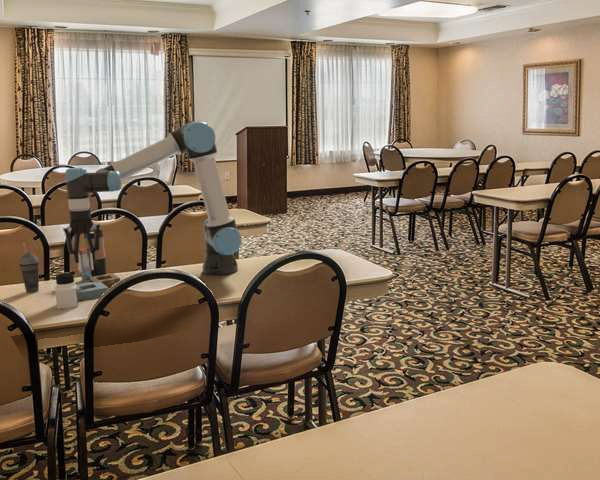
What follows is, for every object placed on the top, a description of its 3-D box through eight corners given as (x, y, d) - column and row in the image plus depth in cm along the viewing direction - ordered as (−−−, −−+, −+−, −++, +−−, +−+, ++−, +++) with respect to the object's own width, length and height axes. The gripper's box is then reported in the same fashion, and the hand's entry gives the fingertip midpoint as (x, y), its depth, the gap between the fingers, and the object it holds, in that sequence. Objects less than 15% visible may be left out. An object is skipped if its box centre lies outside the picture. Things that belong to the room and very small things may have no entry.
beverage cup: (35, 294, 244) (29, 244, 240) (18, 294, 245) (12, 244, 241) (46, 289, 251) (40, 240, 247) (29, 288, 252) (23, 240, 248)
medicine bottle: (78, 306, 226) (74, 274, 223) (57, 309, 223) (53, 277, 221) (78, 301, 232) (74, 270, 230) (57, 304, 230) (54, 272, 228)
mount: (113, 280, 261) (112, 273, 261) (120, 285, 253) (120, 278, 252) (89, 284, 256) (88, 277, 255) (95, 289, 248) (94, 282, 247)
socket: (100, 288, 250) (99, 281, 249) (108, 294, 240) (108, 287, 239) (68, 293, 243) (68, 286, 243) (76, 300, 233) (75, 293, 233)
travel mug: (110, 275, 270) (105, 229, 266) (102, 279, 262) (98, 233, 258) (93, 275, 271) (88, 230, 267) (85, 280, 263) (80, 233, 259)
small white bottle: (90, 278, 243) (87, 247, 240) (93, 280, 240) (89, 249, 237) (81, 279, 241) (77, 249, 238) (83, 281, 238) (80, 250, 235)
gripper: (99, 205, 242) (105, 264, 247) (54, 210, 234) (61, 271, 238) (104, 208, 236) (110, 268, 241) (58, 212, 227) (65, 275, 232)
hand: (86, 269), depth 239 cm, fingers closed on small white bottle, 3 cm apart
